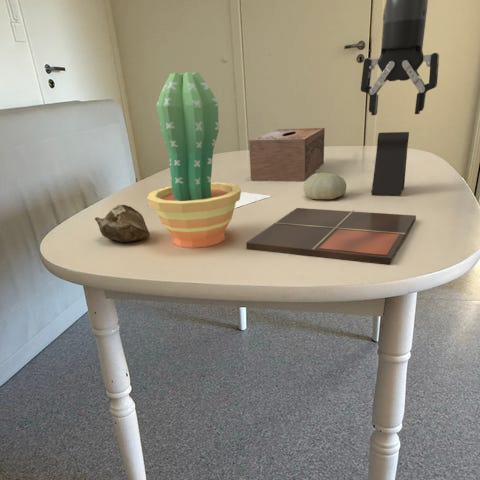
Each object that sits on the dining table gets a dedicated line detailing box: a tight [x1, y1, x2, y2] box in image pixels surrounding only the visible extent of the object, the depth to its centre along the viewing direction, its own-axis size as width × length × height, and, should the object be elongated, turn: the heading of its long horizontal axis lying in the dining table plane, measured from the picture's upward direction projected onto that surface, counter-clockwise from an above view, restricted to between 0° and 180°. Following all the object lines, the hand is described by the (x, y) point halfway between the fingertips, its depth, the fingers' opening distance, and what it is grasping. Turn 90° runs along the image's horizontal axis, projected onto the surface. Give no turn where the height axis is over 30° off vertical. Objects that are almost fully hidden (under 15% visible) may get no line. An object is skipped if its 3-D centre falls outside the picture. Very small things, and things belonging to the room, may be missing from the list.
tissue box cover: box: [248, 127, 326, 182], centre depth 124 cm, size 26×14×10 cm, turn 160°
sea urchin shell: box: [303, 172, 348, 201], centre depth 96 cm, size 9×8×8 cm
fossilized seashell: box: [94, 204, 150, 243], centre depth 78 cm, size 8×7×10 cm
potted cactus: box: [146, 71, 242, 249], centre depth 70 cm, size 15×15×25 cm
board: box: [245, 207, 417, 265], centre depth 74 cm, size 22×22×1 cm
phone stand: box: [371, 131, 410, 197], centre depth 96 cm, size 9×6×12 cm, turn 157°
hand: (395, 114), depth 91 cm, fingers open, 8 cm apart
